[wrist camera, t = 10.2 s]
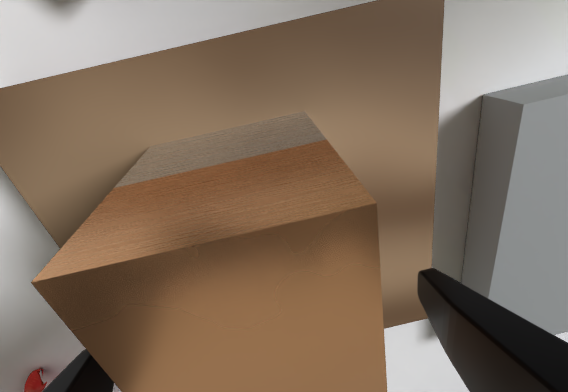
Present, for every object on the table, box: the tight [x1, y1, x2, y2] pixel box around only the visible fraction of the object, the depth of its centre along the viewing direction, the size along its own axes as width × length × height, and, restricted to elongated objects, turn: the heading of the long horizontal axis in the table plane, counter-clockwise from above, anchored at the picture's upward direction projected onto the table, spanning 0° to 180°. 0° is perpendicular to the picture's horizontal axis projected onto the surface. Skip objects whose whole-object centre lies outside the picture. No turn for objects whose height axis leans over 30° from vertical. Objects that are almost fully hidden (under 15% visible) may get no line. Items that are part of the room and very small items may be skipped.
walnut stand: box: [0, 0, 444, 329], centre depth 13 cm, size 14×14×2 cm
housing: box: [31, 111, 387, 392], centre depth 9 cm, size 5×9×6 cm, turn 11°
